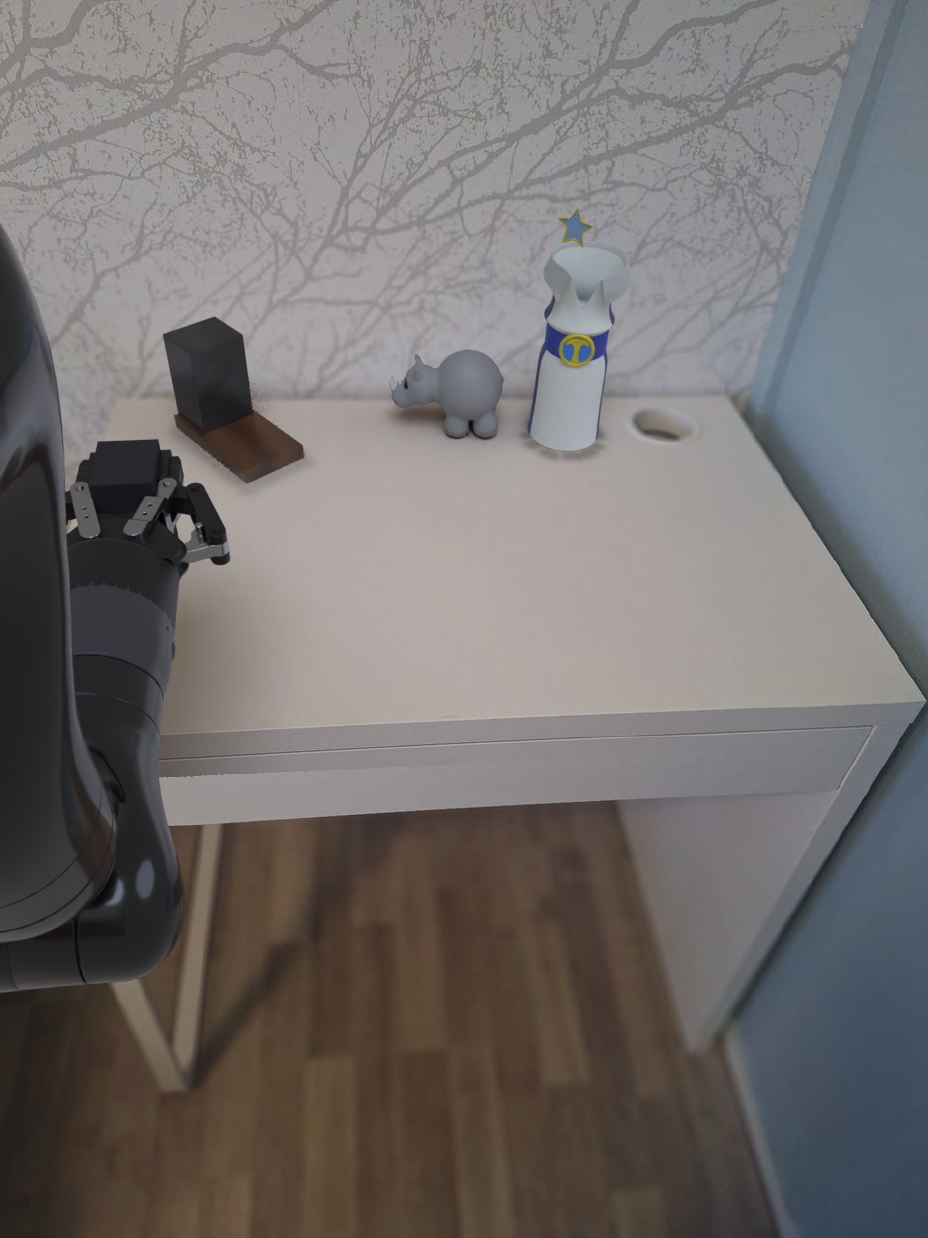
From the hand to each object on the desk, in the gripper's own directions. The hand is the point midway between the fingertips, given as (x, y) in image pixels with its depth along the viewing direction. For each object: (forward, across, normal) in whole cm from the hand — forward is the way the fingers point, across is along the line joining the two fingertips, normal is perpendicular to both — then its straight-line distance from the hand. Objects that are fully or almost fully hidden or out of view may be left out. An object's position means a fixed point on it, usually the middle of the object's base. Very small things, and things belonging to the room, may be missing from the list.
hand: (133, 461), depth 64 cm
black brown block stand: (+27, -5, +17) cm, 33 cm away
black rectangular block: (-3, 0, +7) cm, 8 cm away
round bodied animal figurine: (+29, -27, +17) cm, 43 cm away
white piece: (+26, -40, +17) cm, 51 cm away
